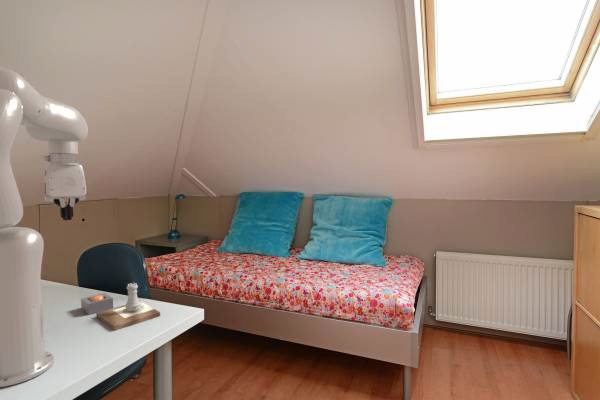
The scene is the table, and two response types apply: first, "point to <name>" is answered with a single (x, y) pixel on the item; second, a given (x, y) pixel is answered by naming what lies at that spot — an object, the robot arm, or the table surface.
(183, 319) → the table surface
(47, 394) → the table surface
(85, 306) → the button base
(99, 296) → the button
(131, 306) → the rook chess piece
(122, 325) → the board
